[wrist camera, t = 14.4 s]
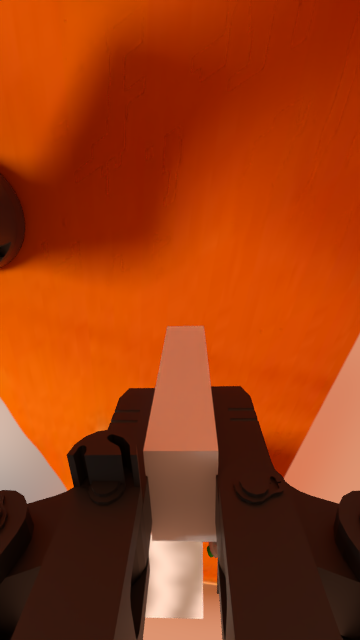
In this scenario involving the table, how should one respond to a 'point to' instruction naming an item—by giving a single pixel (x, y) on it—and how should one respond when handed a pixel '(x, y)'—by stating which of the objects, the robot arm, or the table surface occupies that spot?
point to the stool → (175, 580)
